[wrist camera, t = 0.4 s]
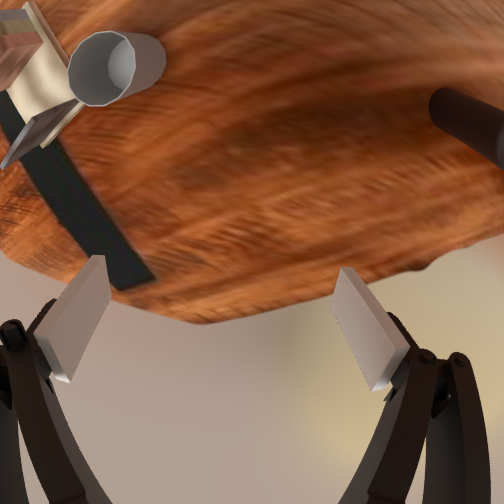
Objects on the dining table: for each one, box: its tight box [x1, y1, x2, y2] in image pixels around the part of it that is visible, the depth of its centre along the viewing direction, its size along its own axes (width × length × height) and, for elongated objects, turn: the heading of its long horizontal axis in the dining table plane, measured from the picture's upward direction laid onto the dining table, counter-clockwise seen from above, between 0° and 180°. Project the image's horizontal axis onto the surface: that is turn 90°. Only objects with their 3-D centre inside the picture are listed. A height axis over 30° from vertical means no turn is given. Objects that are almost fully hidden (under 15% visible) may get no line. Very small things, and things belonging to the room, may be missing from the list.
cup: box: [67, 31, 167, 106], centre depth 23 cm, size 8×8×10 cm
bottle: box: [430, 89, 504, 170], centre depth 21 cm, size 7×7×20 cm
